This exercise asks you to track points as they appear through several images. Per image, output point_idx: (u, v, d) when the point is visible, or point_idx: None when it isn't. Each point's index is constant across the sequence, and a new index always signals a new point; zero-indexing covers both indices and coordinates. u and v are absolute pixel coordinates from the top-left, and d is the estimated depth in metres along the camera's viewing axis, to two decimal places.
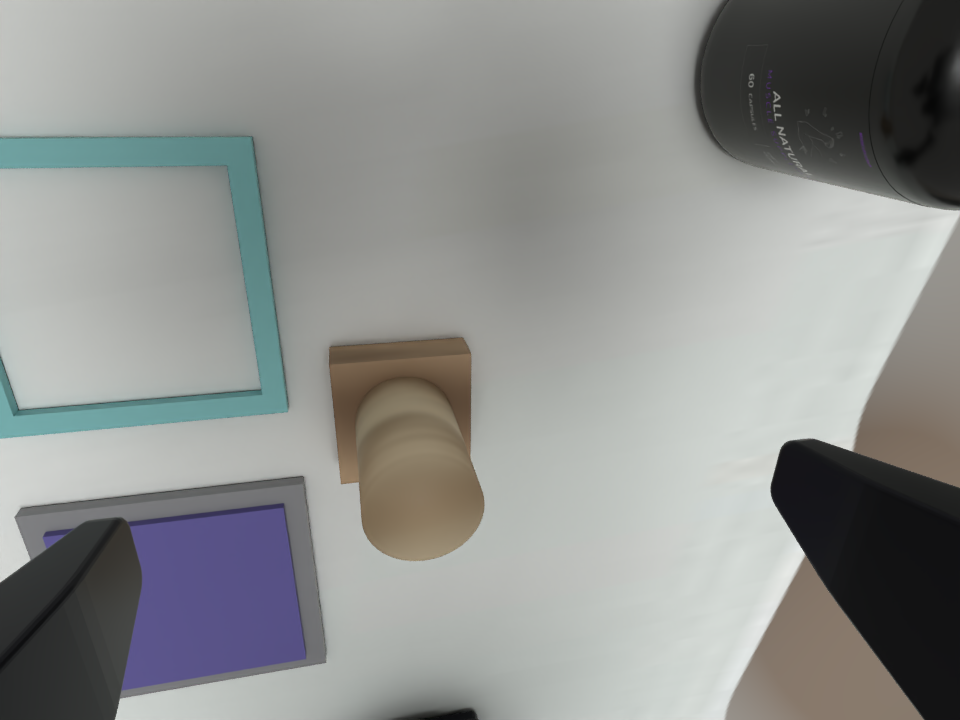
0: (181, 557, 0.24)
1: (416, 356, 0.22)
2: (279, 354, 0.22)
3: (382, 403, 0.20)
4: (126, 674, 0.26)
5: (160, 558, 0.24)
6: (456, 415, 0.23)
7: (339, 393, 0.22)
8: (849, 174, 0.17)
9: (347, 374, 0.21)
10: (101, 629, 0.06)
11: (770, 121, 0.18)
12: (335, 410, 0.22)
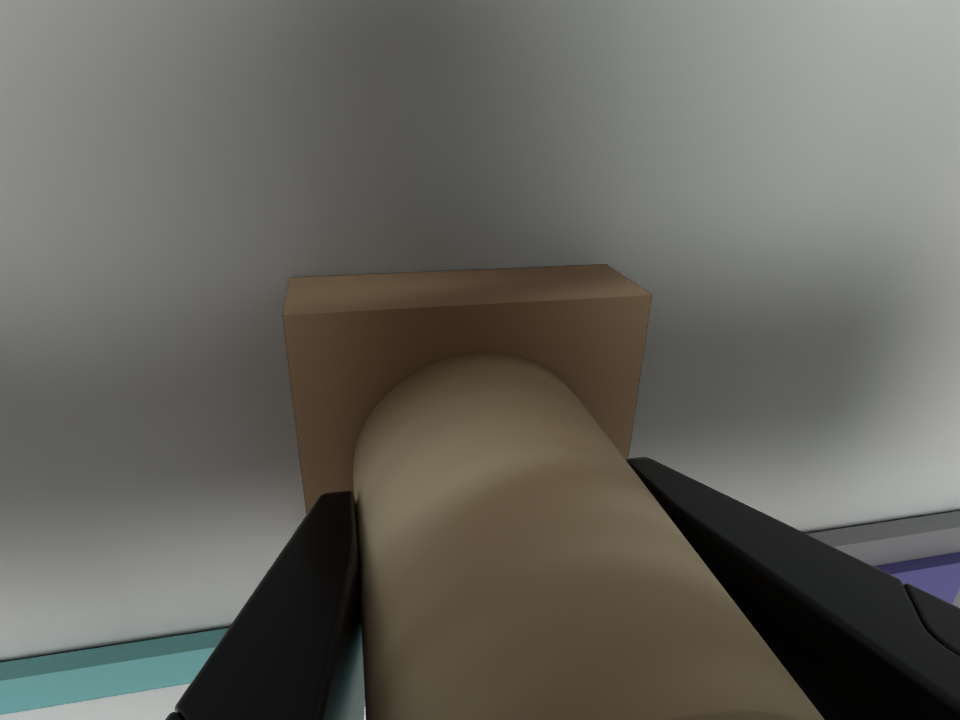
0: None
1: (299, 441, 0.09)
2: None
3: None
4: None
5: None
6: (478, 342, 0.08)
7: None
8: None
9: None
10: None
11: None
12: None
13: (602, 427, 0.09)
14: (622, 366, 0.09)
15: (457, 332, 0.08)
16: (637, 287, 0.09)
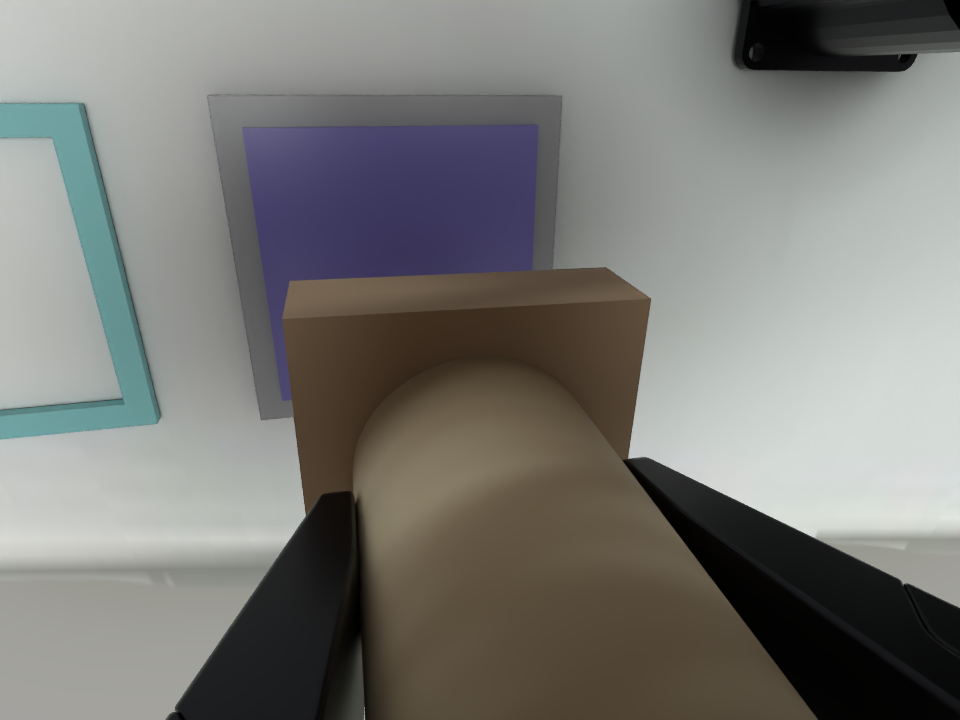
0: (323, 268, 0.19)
1: (298, 445, 0.09)
2: None
3: None
4: None
5: None
6: (477, 346, 0.08)
7: None
8: None
9: None
10: None
11: None
12: None
13: (601, 430, 0.09)
14: (621, 369, 0.09)
15: (456, 336, 0.08)
16: (636, 290, 0.09)
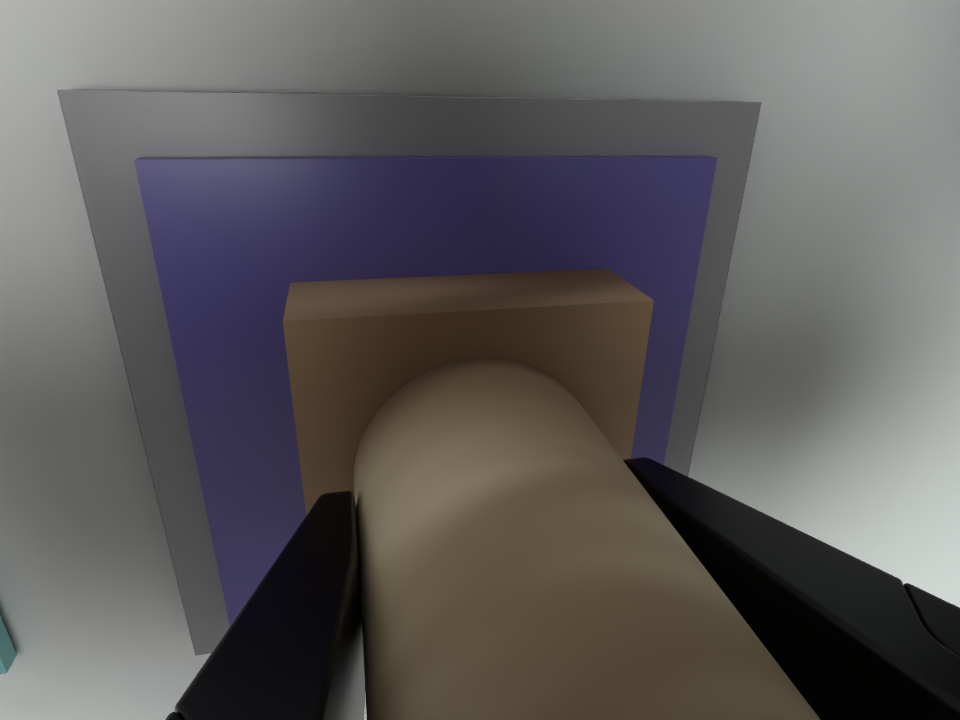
0: None
1: (299, 448, 0.09)
2: None
3: None
4: None
5: None
6: (479, 348, 0.08)
7: None
8: None
9: None
10: None
11: None
12: None
13: (604, 432, 0.09)
14: (624, 371, 0.09)
15: (458, 338, 0.08)
16: (639, 292, 0.09)
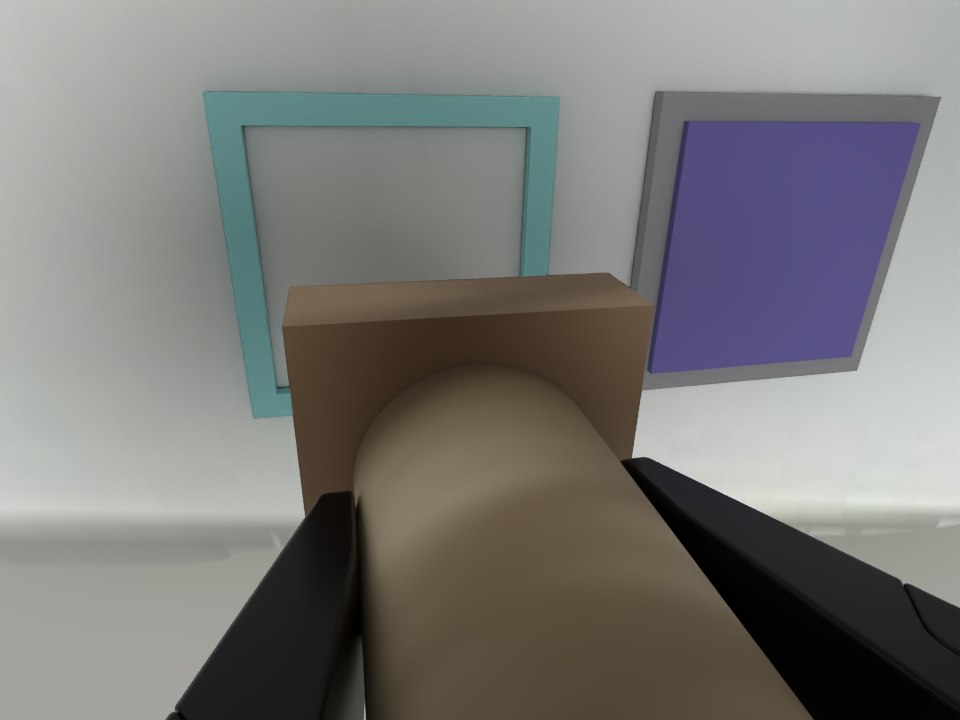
0: (717, 251, 0.20)
1: (299, 453, 0.09)
2: (480, 97, 0.17)
3: None
4: (839, 328, 0.23)
5: (711, 272, 0.21)
6: (479, 353, 0.08)
7: None
8: None
9: None
10: None
11: None
12: None
13: (604, 437, 0.09)
14: (624, 376, 0.09)
15: (458, 343, 0.08)
16: (639, 297, 0.09)
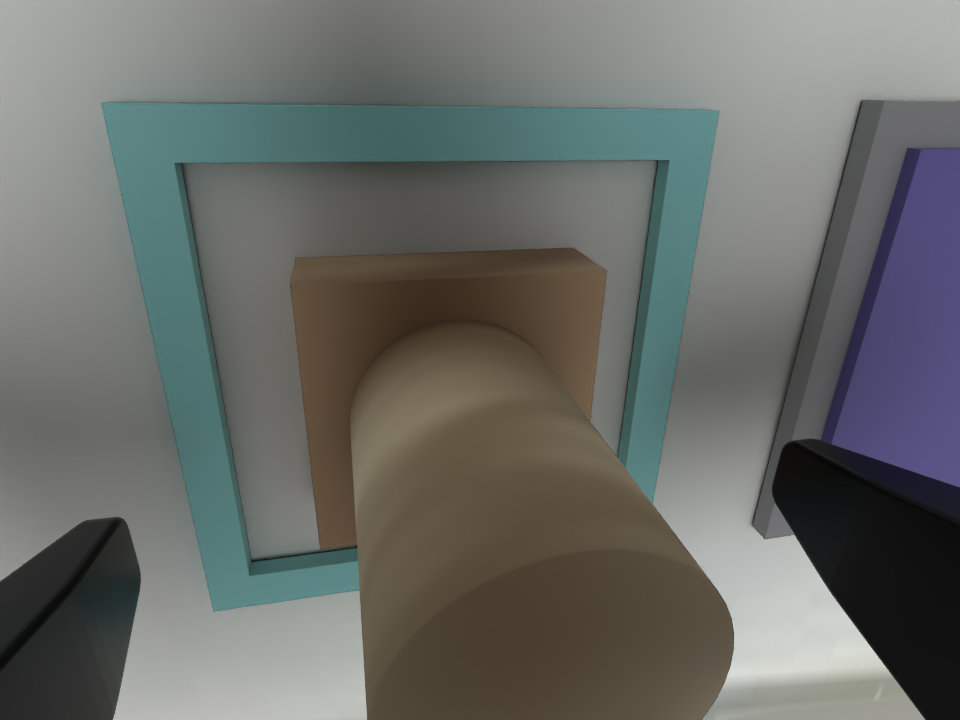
0: (929, 344, 0.13)
1: (303, 397, 0.10)
2: (590, 110, 0.10)
3: None
4: None
5: (914, 375, 0.14)
6: (457, 311, 0.10)
7: None
8: None
9: (341, 520, 0.11)
10: (99, 630, 0.06)
11: None
12: None
13: (567, 387, 0.11)
14: (583, 333, 0.10)
15: (439, 302, 0.10)
16: (595, 265, 0.10)
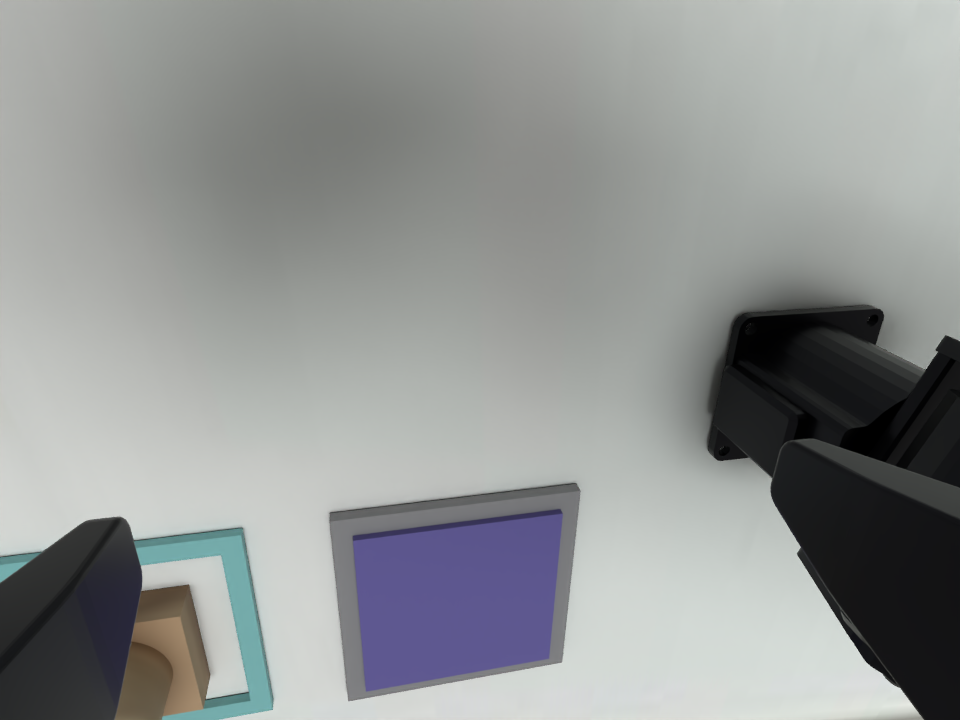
0: (402, 611, 0.25)
1: None
2: (173, 543, 0.22)
3: None
4: (532, 643, 0.28)
5: (401, 624, 0.26)
6: None
7: None
8: None
9: None
10: (101, 629, 0.06)
11: None
12: None
13: (176, 659, 0.23)
14: (176, 639, 0.22)
15: None
16: (181, 608, 0.22)
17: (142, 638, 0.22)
